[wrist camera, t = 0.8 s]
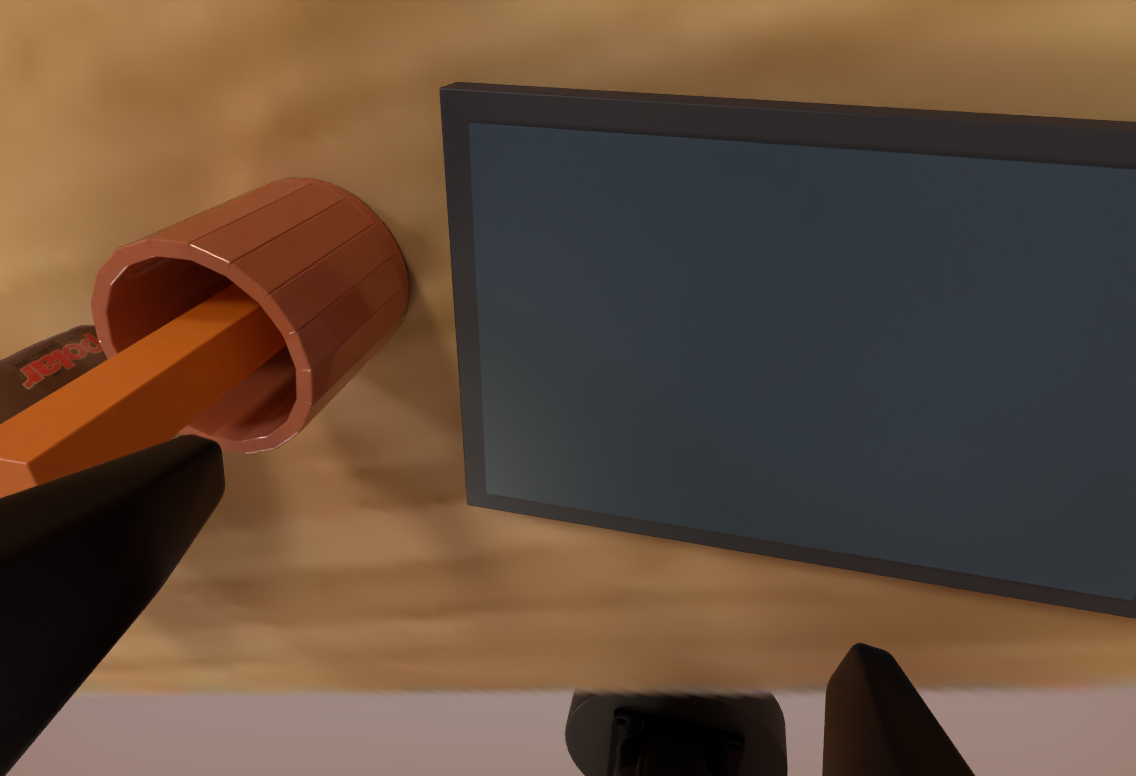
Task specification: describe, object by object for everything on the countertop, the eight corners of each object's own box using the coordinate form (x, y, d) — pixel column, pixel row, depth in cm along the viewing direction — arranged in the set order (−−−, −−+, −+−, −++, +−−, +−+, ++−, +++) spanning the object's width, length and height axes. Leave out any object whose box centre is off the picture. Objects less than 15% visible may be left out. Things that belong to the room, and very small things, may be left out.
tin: (101, 535, 33) (-76, 689, 26) (41, 496, 32) (-156, 643, 25) (202, 331, 25) (-11, 471, 18) (126, 275, 24) (-125, 397, 17)
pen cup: (418, 363, 24) (330, 469, 19) (257, 342, 25) (132, 435, 20) (400, 185, 20) (287, 254, 15) (216, 169, 21) (54, 228, 16)
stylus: (340, 302, 22) (58, 530, 13) (296, 297, 23) (-11, 516, 13) (333, 255, 22) (26, 464, 12) (286, 250, 22) (-47, 450, 13)
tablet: (1128, 591, 22) (1148, 623, 21) (477, 484, 26) (466, 507, 25) (1421, 138, 15) (1475, 151, 14) (455, 81, 19) (436, 88, 17)
